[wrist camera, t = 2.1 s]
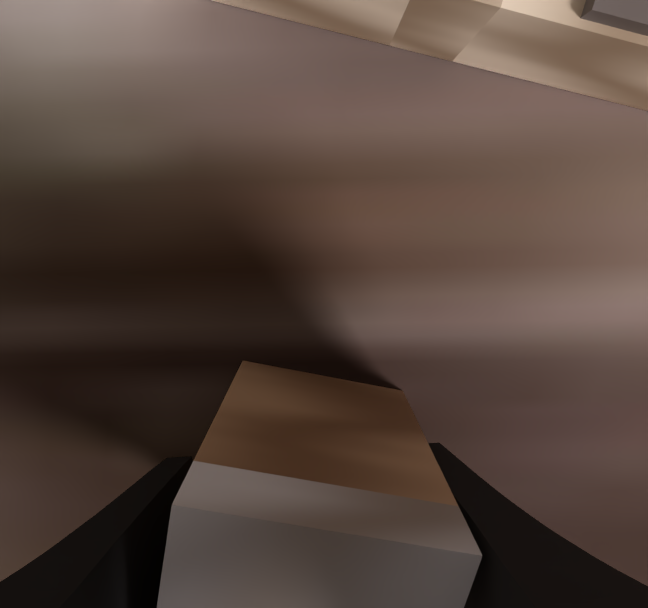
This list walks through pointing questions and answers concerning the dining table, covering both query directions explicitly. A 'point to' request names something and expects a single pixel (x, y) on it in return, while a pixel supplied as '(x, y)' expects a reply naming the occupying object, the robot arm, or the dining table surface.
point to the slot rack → (501, 36)
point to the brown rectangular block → (315, 503)
